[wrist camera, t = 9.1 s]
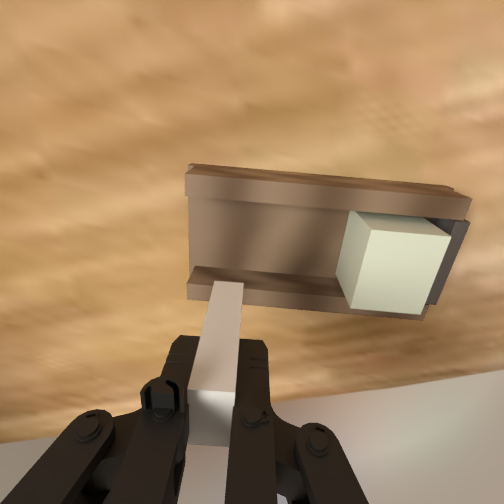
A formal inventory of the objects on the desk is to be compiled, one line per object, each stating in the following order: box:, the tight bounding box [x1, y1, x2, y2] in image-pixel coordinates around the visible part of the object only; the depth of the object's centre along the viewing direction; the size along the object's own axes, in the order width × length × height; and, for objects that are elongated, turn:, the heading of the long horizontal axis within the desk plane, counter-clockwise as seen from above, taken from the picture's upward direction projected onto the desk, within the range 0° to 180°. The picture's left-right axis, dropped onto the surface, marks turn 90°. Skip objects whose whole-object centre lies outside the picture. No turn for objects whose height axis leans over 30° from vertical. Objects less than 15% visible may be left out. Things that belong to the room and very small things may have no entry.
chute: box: [185, 163, 472, 321], centre depth 24 cm, size 20×10×4 cm, turn 86°
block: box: [335, 211, 451, 315], centre depth 22 cm, size 5×6×5 cm
